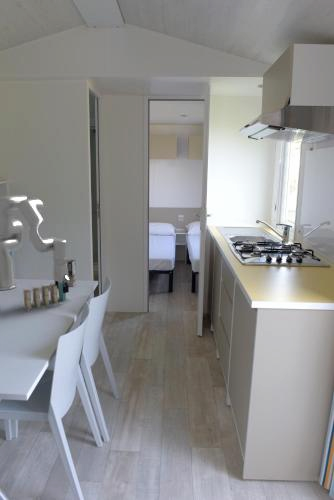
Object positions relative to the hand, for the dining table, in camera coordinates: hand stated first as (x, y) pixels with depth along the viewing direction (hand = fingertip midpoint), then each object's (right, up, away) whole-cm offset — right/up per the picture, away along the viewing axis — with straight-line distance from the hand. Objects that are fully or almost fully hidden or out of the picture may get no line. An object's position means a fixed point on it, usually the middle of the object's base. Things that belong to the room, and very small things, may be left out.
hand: (61, 290), depth 214 cm
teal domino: (0, -5, +1) cm, 6 cm away
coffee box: (-4, 0, +29) cm, 29 cm away
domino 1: (-15, -8, -12) cm, 21 cm away
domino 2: (-11, -7, -9) cm, 16 cm away
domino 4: (-4, -6, -2) cm, 7 cm away
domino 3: (-7, -7, -5) cm, 11 cm away
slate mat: (-7, -7, -5) cm, 12 cm away
